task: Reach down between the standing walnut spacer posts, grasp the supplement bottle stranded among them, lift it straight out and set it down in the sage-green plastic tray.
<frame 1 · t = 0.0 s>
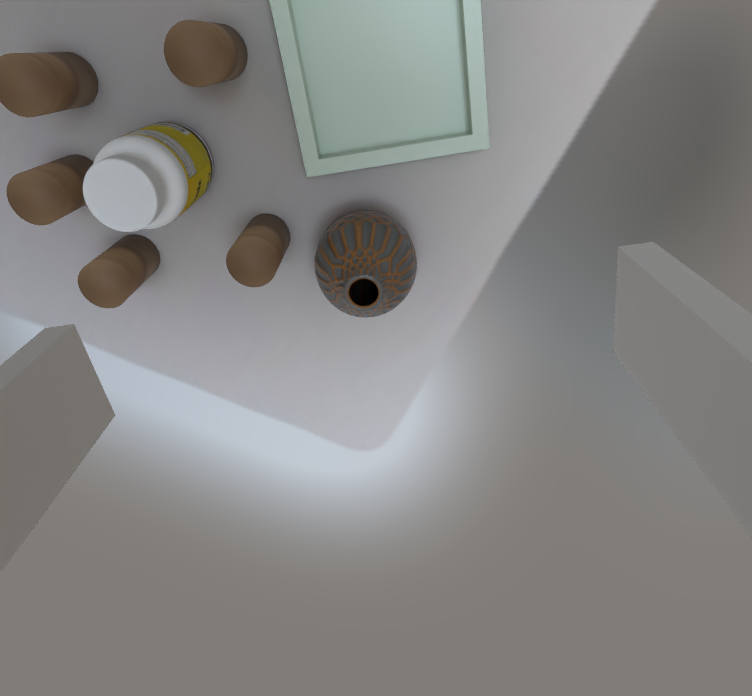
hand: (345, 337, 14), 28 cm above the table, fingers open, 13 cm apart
supplement bottle: (177, 161, 39), on the table
vase: (367, 246, 42), on the table
tray: (383, 60, 36), on the table
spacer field: (176, 162, 39), on the table
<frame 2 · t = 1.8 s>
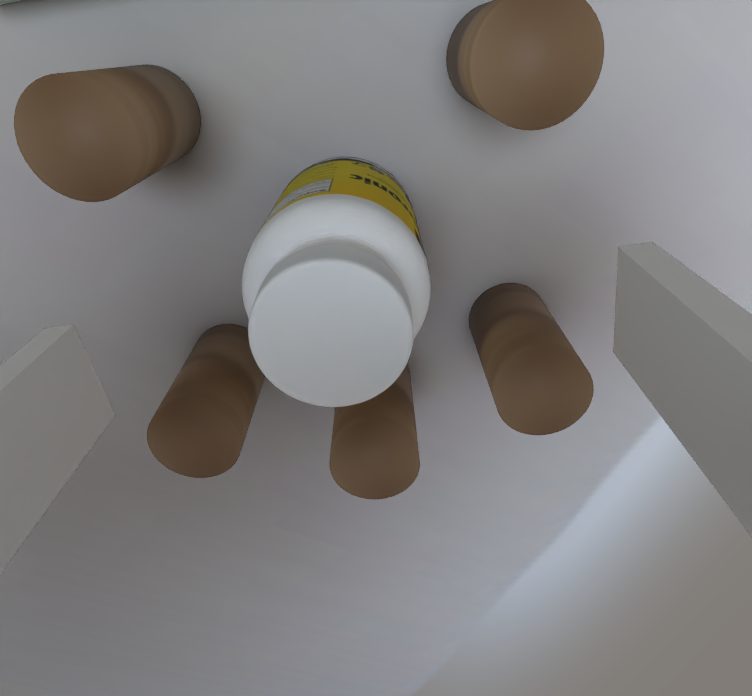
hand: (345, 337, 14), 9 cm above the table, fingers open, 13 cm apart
supplement bottle: (346, 223, 22), on the table
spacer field: (346, 225, 22), on the table
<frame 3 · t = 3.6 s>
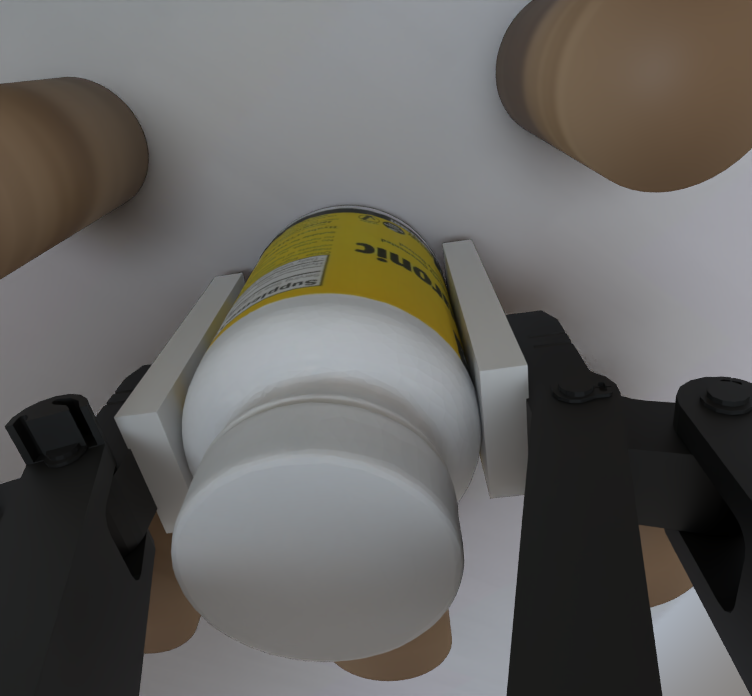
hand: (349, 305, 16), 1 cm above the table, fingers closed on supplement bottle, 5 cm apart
supplement bottle: (351, 290, 16), on the table, touching gripper
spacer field: (351, 294, 16), on the table
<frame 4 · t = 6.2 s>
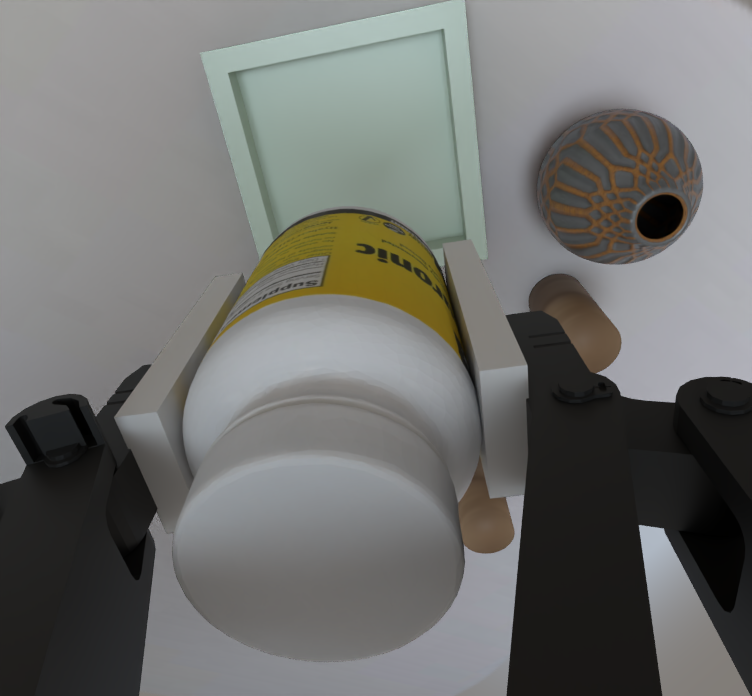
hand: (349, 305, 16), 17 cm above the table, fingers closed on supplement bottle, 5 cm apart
supplement bottle: (351, 291, 16), point 16 cm above the table, touching gripper
vase: (589, 172, 30), on the table
tray: (357, 156, 30), on the table
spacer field: (463, 385, 36), on the table
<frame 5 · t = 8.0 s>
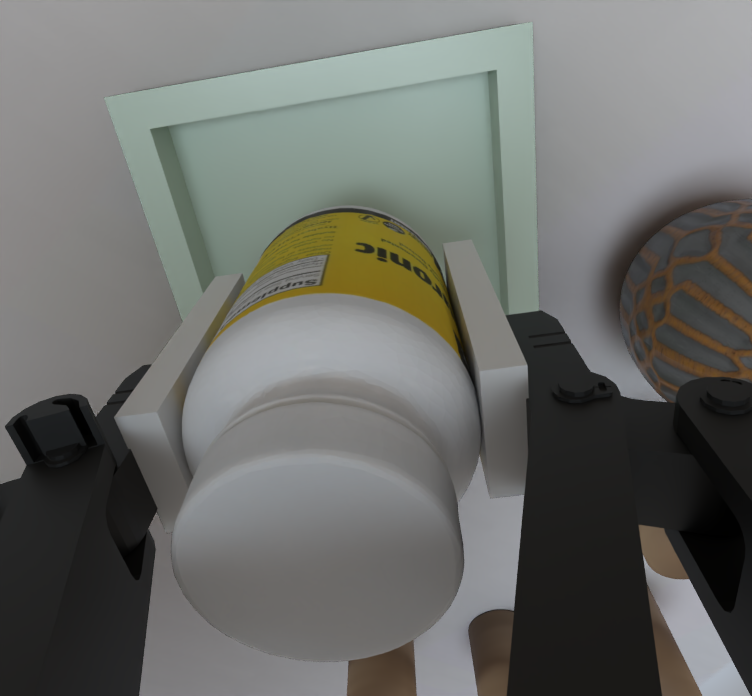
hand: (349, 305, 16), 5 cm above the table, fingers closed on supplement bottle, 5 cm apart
supplement bottle: (351, 290, 16), point 4 cm above the table, touching gripper
vase: (687, 273, 21), on the table
tray: (352, 245, 20), on the table
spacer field: (490, 535, 27), on the table
when the fingers open (3 cm above the table, at t = 9.2 s): supplement bottle drops 1 cm, resting on tray.
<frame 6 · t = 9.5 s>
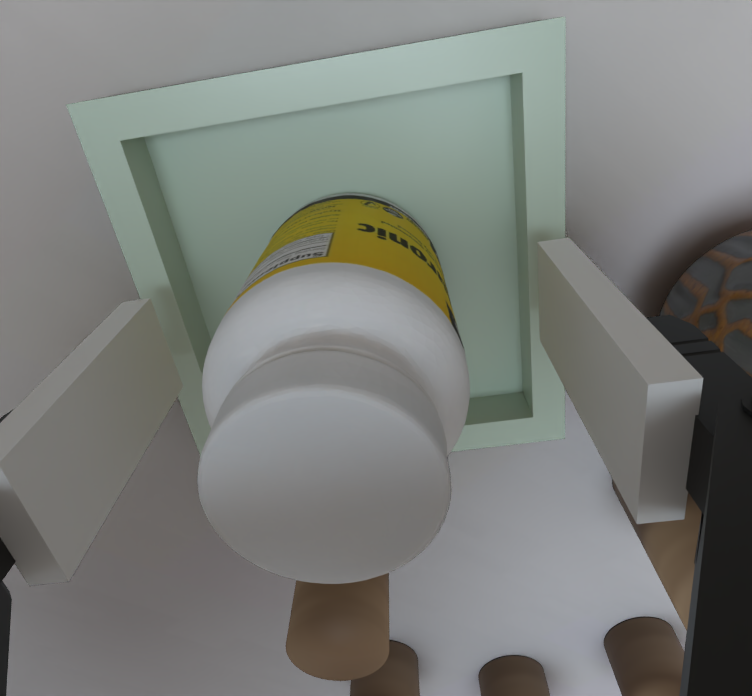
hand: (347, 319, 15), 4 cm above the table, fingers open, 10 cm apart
supplement bottle: (353, 274, 18), resting on tray
vase: (730, 300, 19), on the table
tray: (354, 269, 18), on the table
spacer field: (504, 579, 25), on the table
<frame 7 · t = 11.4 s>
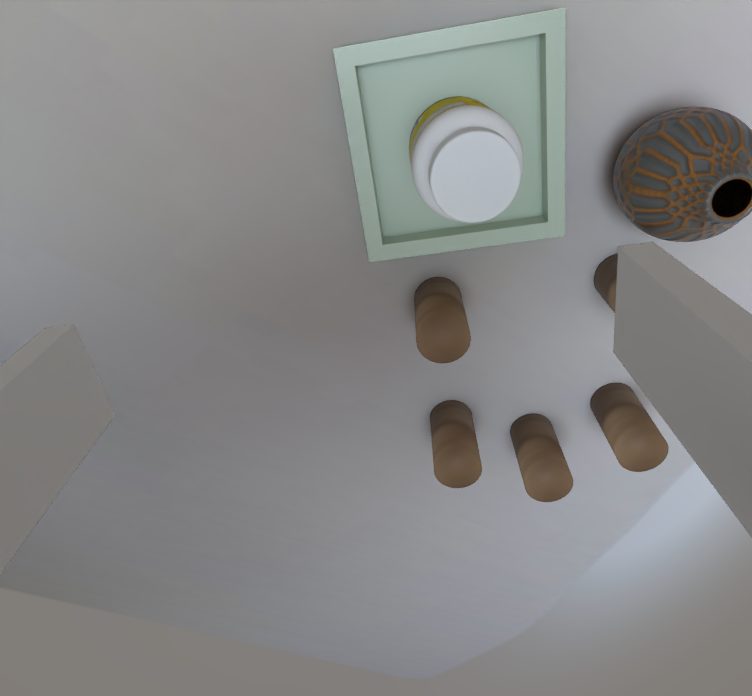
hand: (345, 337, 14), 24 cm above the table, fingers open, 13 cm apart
supplement bottle: (454, 143, 34), resting on tray
vase: (656, 162, 34), on the table
tray: (453, 142, 34), on the table
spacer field: (528, 352, 40), on the table
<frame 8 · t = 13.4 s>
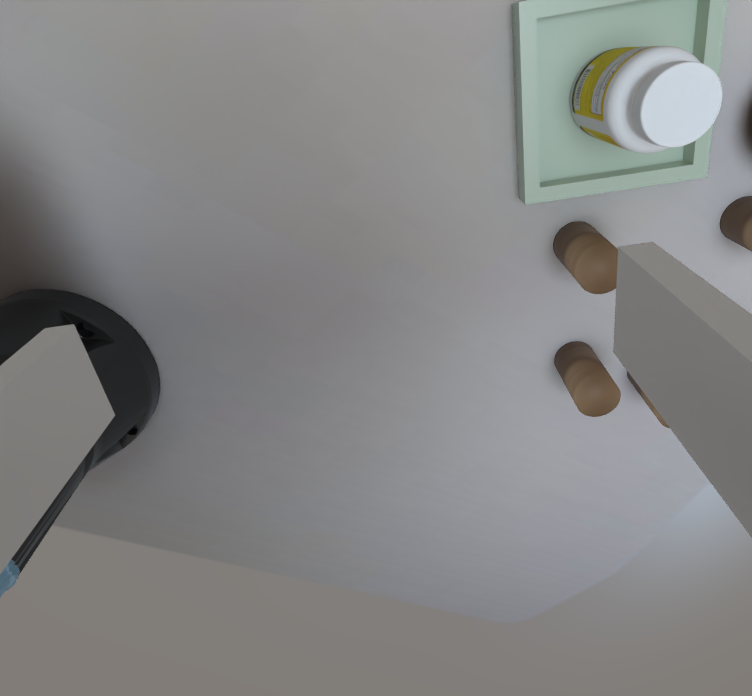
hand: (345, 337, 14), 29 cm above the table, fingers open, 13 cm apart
supplement bottle: (609, 93, 37), resting on tray
tray: (607, 92, 37), on the table
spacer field: (653, 293, 44), on the table
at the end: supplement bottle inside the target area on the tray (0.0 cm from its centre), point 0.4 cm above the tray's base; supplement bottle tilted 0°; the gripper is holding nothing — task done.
